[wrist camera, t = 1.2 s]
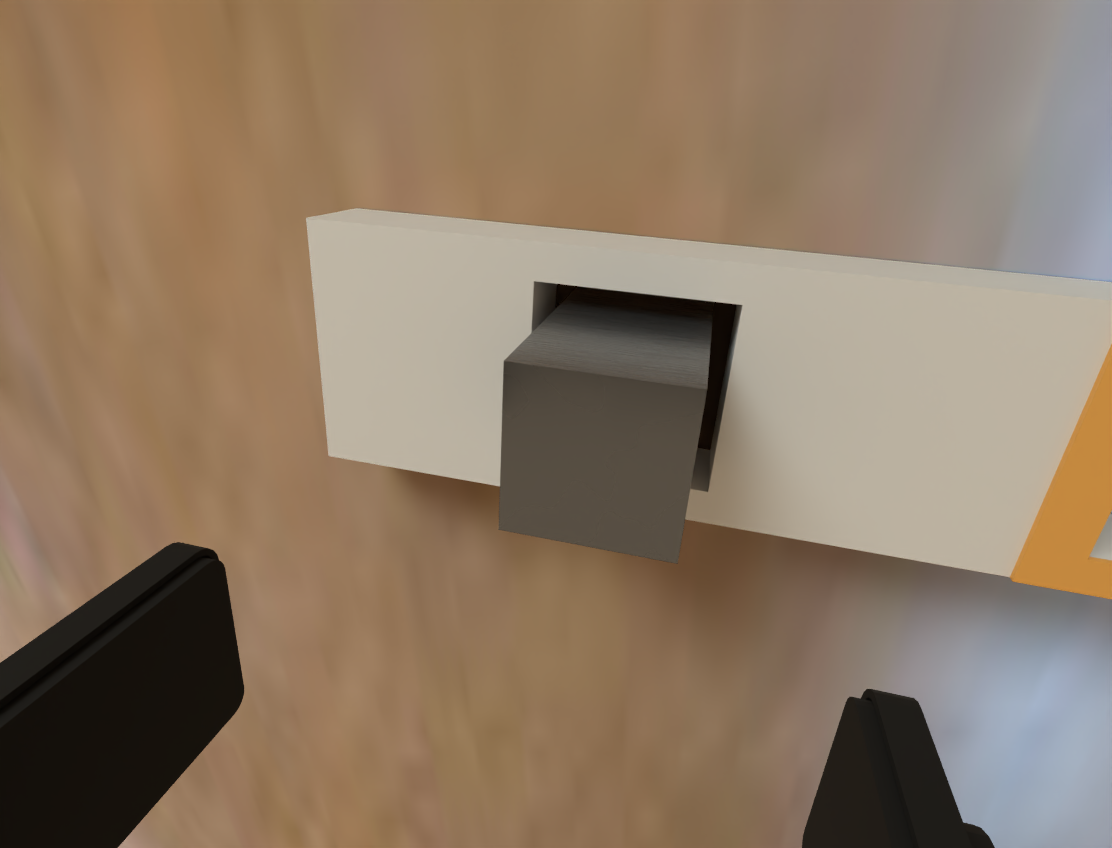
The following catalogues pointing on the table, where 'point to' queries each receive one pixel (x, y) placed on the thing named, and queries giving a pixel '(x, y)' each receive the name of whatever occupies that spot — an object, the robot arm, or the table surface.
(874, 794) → the robot arm
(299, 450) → the table surface
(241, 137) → the table surface
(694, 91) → the table surface
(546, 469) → the steel block
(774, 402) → the rail
